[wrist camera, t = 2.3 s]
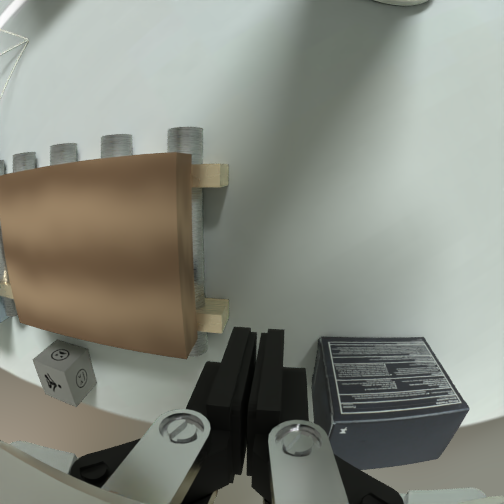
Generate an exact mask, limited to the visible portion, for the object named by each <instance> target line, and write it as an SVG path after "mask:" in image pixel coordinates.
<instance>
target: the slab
mask: <svg viewBox="0 0 504 504" xmlns="http://www.w3.org/2000/svg"><path fill="white" fill-rule="evenodd" d="M0 222H1V231H2V239H3V246H4V253H5V259H6V264H7V270H8V275H9V280H10V285H11V289H12V294H13V298H14V302H15V306H16V310H17V314H18V317H19V321H20V323H23V324H26V325H29V326H33V327H36V328H40V329H43V330H47V331H50V332H54V333H58V334H61V335H65V336H69V337H73V338H77V339H81V340H85V341H90V342H94V343H99V344H103V345H108V346H113V347H117V348H123V349H128V350H133V351H138V352H144V353H150V354H156V355H162V356H168V357H175V358H182V359H187V358H188V356H189V354H190V352H191V350H192V348H193V347H194V345H195V343H196V341H197V339H198V334H197V320H196V305H195V287H194V266H193V239H192V154H186V153H179V152H171V153H155V154H142V155H131V156H120V157H111V158H102V159H94V160H86V161H78V162H71V163H65V164H58V165H52V166H46V167H40V168H35V169H29V170H24V171H19V172H14V173H10V174H5V175H0Z"/></svg>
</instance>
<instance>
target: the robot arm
mask: <svg viewBox="0 0 504 504" xmlns="http://www.w3.org/2000/svg"><path fill="white" fill-rule="evenodd" d="M374 1H378V2H382V3H386V4H391V5H400V6H409V5H417V4H421V3H424V2H426V1H428V0H374ZM256 343H257V333H256V332H251V328H245V327H234V328H233V331H232V334H231V337H230V339H229V342H228V345H227V348H226V350H225V353H224V356H223V359H222V362H221V363H220V362H210V361H207V362H206V364H205V366H204V368H203V370H202V373H201V375H200V377H199V380H198V382H197V384H196V386H195V389H194V391H193V393H192V396H191V398H190V400H189V402H188V405H187V407H186V409H176V410H172V411H168V412H166V413H164V414H162V415H161V416H160V417H158V418H157V419H156V420H155V422H154V423H153V424H152V426H151V427H150V428H149V429H148V431H147V432H146V433H145V434H144V436H143V437H142V438H141V439H138V440H135V441H132V442H129V443H125V444H122V445H119V446H115V447H112V448H109V449H105V450H101V451H98V452H94V453H90V454H87V455H85V456H82V457H80V458H77V457H76V455H75V454H73V453H68V452H64V451H59V450H55V449H51V448H47V447H42V446H39V445H36V444H32V443H28V442H24V441H16V442H12V443H11V444H8V443H6V442H3V441H1V440H0V504H213V503H214V501H215V499H216V497H217V493H218V489H220V488H222V487H224V486H226V485H228V484H229V483H233V480H234V475H235V474H238V475H241V473H242V468H243V464H244V458H245V453H246V447H247V476H252V488H253V489H255V490H256V491H257V492H258V493H259V494H260V495H261V496H262V497H263V504H504V496H497V497H486V495H485V494H484V493H483V492H482V491H481V490H478V489H476V488H458V489H446V490H423V491H422V490H421V491H408V492H407V494H399V493H398V492H397V491H395V490H394V489H393V488H391V487H389V486H387V485H385V484H384V483H382V482H380V481H378V480H376V479H375V478H372V477H371V476H369V475H368V474H366V473H364V472H362V471H361V470H359V469H358V468H356V467H354V466H353V465H351V464H349V463H348V462H346V461H344V460H343V459H341V458H340V457H338V456H336V455H335V454H333V451H332V448H331V445H330V441H329V438H328V436H327V434H326V432H325V431H324V430H323V429H322V428H321V427H320V426H319V425H317V424H314V423H312V422H309V418H308V398H307V381H306V369H305V368H289V367H283V351H284V330H279V329H268V333H261V338H260V344H259V349H258V355H257V360H256Z"/></svg>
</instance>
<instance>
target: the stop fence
mask: <svg viewBox="0 0 504 504" xmlns="http://www.w3.org/2000/svg"><path fill="white" fill-rule="evenodd" d="M8 317H9V316H6V313H5V310H4V306H3V302H2V298H1V296H0V322H2V321H3V320H5V319H7V318H8Z"/></svg>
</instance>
